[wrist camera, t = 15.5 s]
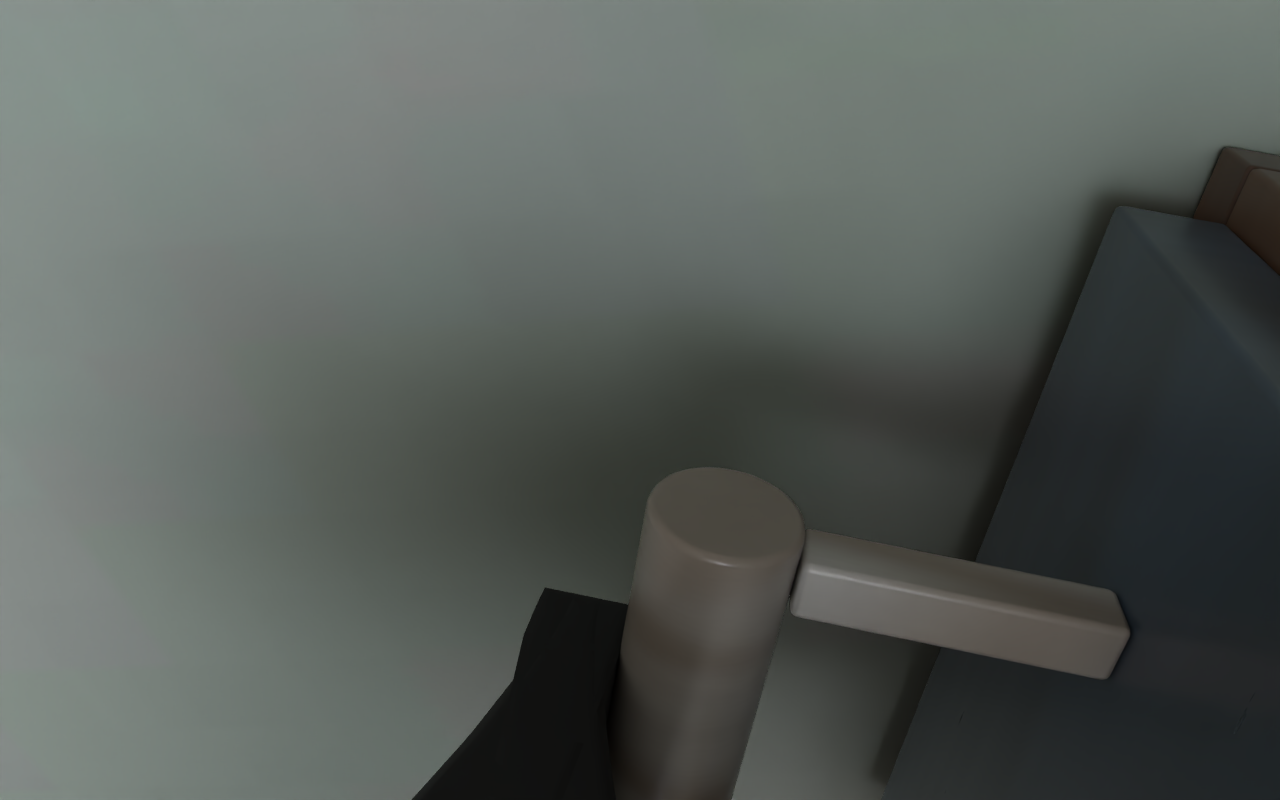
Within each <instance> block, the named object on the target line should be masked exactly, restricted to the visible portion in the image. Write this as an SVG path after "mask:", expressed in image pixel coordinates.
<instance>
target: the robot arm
mask: <svg viewBox="0 0 1280 800" xmlns="http://www.w3.org/2000/svg"><path fill="white" fill-rule="evenodd" d="M627 609H628V605H627V604H623V603H618V602H613V601H608V600H603V599H598V598H593V597H588V596H583V595H579V594H574V593H569V592H564V591H559V590H554V589H549V588H544V590H543V592H542V595H541V597H540V599H539V601H538V603H537V605H536V607H535V610H534V612H533V614H532V617H531V619H530V621H529V624H528V626H527V628H526V631H525V633H524V637H523V641H522V645H521V649H520V654H519V658H518V662H517V666H516V671H515V675H514V679H513V681H512V682H511V683H510V685H509V686H508V687H507V689H506V690H505V691H504V692H503V694H502V695H501V696H500V697H499V699H498V700H497V701H496V702H495V704H494V705H493V706H492V708H491V709H490V710H489V711H488V713H487V714H486V715H485V716H484V718H483V719H482V720H481V721H480V723H479V724H478V725H477V726H476V728H475V729H474V730H473V731H472V733H471V734H470V735H469V736H468V737H467V739H466V740H465V741H464V742H463V743H462V744H461V745H460V747H459V748H458V749H457V750H456V751H455V752H454V753H453V754H452V755H451V757H450V758H449V759H448V760H447V761H446V762H445V763H444V764H443V765H442V767H441V768H440V769H439V770H438V771H437V772H436V773H435V774H434V775H433V777H432V778H431V779H430V780H429V781H428V782H427V783H426V784H425V785H424V787H423V788H422V789H421V790H420V791H419V792H418V793H417V794H416V795H415V797H414V798H413V799H412V800H616V796H615V790H614V784H613V777H612V769H611V761H610V753H609V744H608V736H607V721H608V715H609V710H610V704H611V699H612V693H613V688H614V682H615V677H616V671H617V665H618V660H619V654H620V649H621V642H622V636H623V631H624V625H625V620H626V614H627Z"/></svg>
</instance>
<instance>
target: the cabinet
mask: <svg viewBox="0 0 1280 800" xmlns="http://www.w3.org/2000/svg"><path fill="white" fill-rule="evenodd" d="M1193 219H1198V220H1204V221H1209V222H1215V223H1220V224H1224V225H1225V226H1227V227H1228V228H1229V229H1230V230H1231V231H1232V232H1233V233H1235V234H1236V235H1237V236H1238V237H1239V238H1240V239H1241V240H1242V241H1243V242H1244V243H1245V244H1246V245H1247V246H1248V247H1249V248H1251V249H1252V250H1253V251H1254V252H1255V253H1256V254H1257V255H1258V256H1259V257H1260V258H1261V259H1262V260H1263V261H1264V262H1265V263H1267V264H1268V265H1269V266H1270V267H1271V268H1272V269H1273V270H1274V271H1275V272H1276V273H1277V274H1278V275H1279V276H1280V156H1277V155H1271V154H1266V153H1260V152H1255V151H1249V150H1244V149H1238V148H1232V147H1227V148H1224V149H1223V150H1222V153H1221V155H1220V157H1219V159H1218V162H1217V164H1216V166H1215V169H1214V171H1213V173H1212V175H1211V178H1210V180H1209V182H1208V185H1207V187H1206V189H1205V191H1204V194H1203V196H1202V198H1201V201H1200V203H1199V205H1198V207H1197V210H1196V212H1195V214H1194V217H1193Z"/></svg>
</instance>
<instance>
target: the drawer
mask: <svg viewBox="0 0 1280 800" xmlns="http://www.w3.org/2000/svg"><path fill="white" fill-rule="evenodd" d="M789 595H790V611H791V613H792V615H794V616H796V617H800V618H805V619H809V620H814V621H819V622H824V623H829V624H834V625H838V626H843V627H848V628H853V629H858V630H863V631H867V632H872V633H877V634H882V635H887V636H891V637H896V638H901V639H906V640H911V641H916V642H920V643H925V644H930V645H935V646H940V647H941V649H940V652H939V654H938V657H937V659H936V662H935V664H934V667H933V669H932V672H931V674H930V677H929V679H928V682H927V685H926V687H925V690H924V692H923V695H922V697H921V700H920V702H919V705H918V707H917V710H916V712H915V715H914V717H913V720H912V722H911V725H910V727H909V730H908V733H907V735H906V738H905V740H904V743H903V745H902V748H901V750H900V753H899V755H898V758H897V760H896V763H895V765H894V768H893V770H892V773H891V775H890V778H889V781H888V783H887V786H886V788H885V791H884V793H883V796H882V798H881V800H1280V276H1279V275H1278V274H1277V273H1276V272H1275V271H1274V270H1273V269H1272V268H1271V267H1270V266H1269V265H1268V264H1267V263H1265V262H1264V261H1263V260H1262V259H1261V258H1260V257H1259V256H1258V255H1257V254H1256V253H1255V252H1254V251H1253V250H1252V249H1251V248H1249V247H1248V246H1247V245H1246V244H1245V243H1244V242H1243V241H1242V240H1241V239H1240V238H1239V237H1238V236H1237V235H1236V234H1235V233H1233V232H1232V231H1231V230H1230V229H1229V228H1228V227H1227V226H1225V225H1224V224H1220V223H1215V222H1209V221H1204V220H1198V219H1193V218H1187V217H1182V216H1176V215H1171V214H1165V213H1160V212H1155V211H1149V210H1144V209H1138V208H1133V207H1127V206H1120V207H1117V208H1116V209H1115V211H1114V212H1113V215H1112V217H1111V220H1110V222H1109V225H1108V227H1107V230H1106V232H1105V235H1104V237H1103V240H1102V242H1101V245H1100V248H1099V250H1098V253H1097V255H1096V258H1095V260H1094V263H1093V265H1092V268H1091V270H1090V273H1089V275H1088V278H1087V280H1086V283H1085V285H1084V288H1083V290H1082V293H1081V296H1080V298H1079V301H1078V303H1077V306H1076V308H1075V311H1074V313H1073V316H1072V318H1071V321H1070V323H1069V326H1068V328H1067V331H1066V333H1065V336H1064V338H1063V341H1062V344H1061V346H1060V349H1059V351H1058V354H1057V356H1056V359H1055V361H1054V364H1053V366H1052V369H1051V371H1050V374H1049V376H1048V379H1047V381H1046V384H1045V386H1044V389H1043V391H1042V394H1041V397H1040V399H1039V402H1038V404H1037V407H1036V409H1035V412H1034V414H1033V417H1032V419H1031V422H1030V424H1029V427H1028V429H1027V432H1026V434H1025V437H1024V439H1023V442H1022V445H1021V447H1020V450H1019V452H1018V455H1017V457H1016V460H1015V462H1014V465H1013V467H1012V470H1011V472H1010V475H1009V477H1008V480H1007V482H1006V485H1005V487H1004V490H1003V493H1002V495H1001V498H1000V500H999V503H998V505H997V508H996V510H995V513H994V515H993V518H992V520H991V523H990V525H989V528H988V530H987V533H986V535H985V538H984V541H983V543H982V546H981V548H980V551H979V553H978V556H977V558H976V561H975V562H972V561H967V560H962V559H957V558H952V557H947V556H942V555H938V554H933V553H928V552H923V551H918V550H913V549H908V548H903V547H898V546H893V545H888V544H883V543H878V542H873V541H868V540H863V539H859V538H854V537H849V536H844V535H839V534H834V533H829V532H824V531H819V530H814V529H806V528H805V523H804V519H803V516H802V514H801V512H800V510H799V508H798V507H797V505H796V504H795V503H794V502H793V501H792V499H791V498H790V497H789V496H787V495H786V494H785V493H784V492H783V491H781V490H780V489H779V488H777V487H776V486H774V485H772V484H771V483H769V482H767V481H765V480H763V479H761V478H758V477H756V476H753V475H751V474H747V473H744V472H741V471H737V470H732V469H726V468H718V467H696V468H689V469H684V470H681V471H677V472H675V473H672V474H670V475H668V476H667V477H665V478H664V479H662V480H661V481H660V482H659V483H658V484H657V485H656V486H655V487H654V489H653V490H652V492H651V493H650V495H649V497H648V500H647V504H646V510H645V515H644V521H643V526H642V532H641V537H640V543H639V548H638V554H637V559H636V565H635V570H634V576H633V581H632V587H631V592H630V598H629V603H628V609H627V614H626V620H625V625H624V631H623V636H622V642H621V649H620V654H619V660H618V665H617V671H616V677H615V682H614V688H613V693H612V699H611V704H610V710H609V715H608V721H607V736H608V744H609V753H610V761H611V769H612V777H613V784H614V790H615V796H616V800H731V799H732V795H733V792H734V788H735V785H736V781H737V778H738V774H739V771H740V767H741V764H742V760H743V757H744V753H745V750H746V746H747V743H748V739H749V736H750V732H751V729H752V725H753V722H754V718H755V715H756V711H757V708H758V704H759V701H760V697H761V693H762V690H763V686H764V683H765V679H766V676H767V672H768V669H769V665H770V662H771V658H772V655H773V651H774V648H775V644H776V641H777V637H778V634H779V630H780V627H781V623H782V620H783V616H784V613H785V609H786V606H787V602H788V599H789Z"/></svg>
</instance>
